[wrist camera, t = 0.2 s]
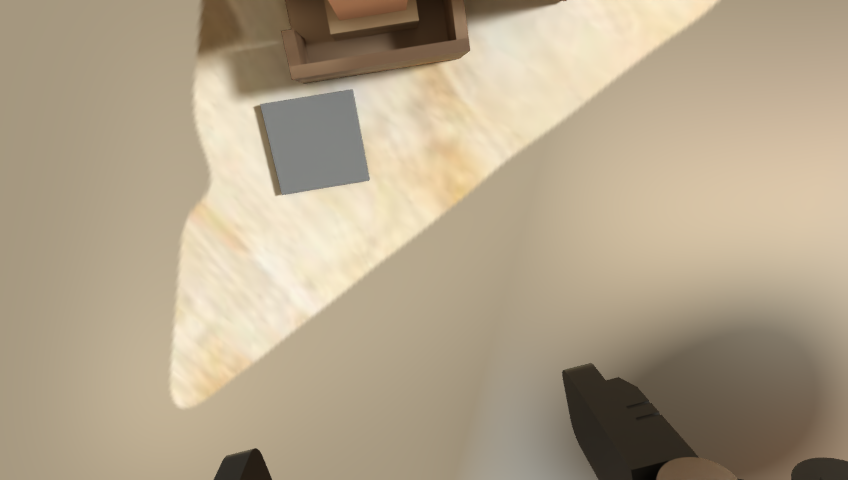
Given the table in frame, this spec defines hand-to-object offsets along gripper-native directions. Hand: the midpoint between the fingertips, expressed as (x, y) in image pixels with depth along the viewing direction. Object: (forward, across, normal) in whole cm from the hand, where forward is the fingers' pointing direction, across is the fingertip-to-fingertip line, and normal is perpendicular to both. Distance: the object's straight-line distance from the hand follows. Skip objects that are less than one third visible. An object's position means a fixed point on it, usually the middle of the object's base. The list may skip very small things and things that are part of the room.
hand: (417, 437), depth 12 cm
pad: (+28, +5, -7) cm, 30 cm away
